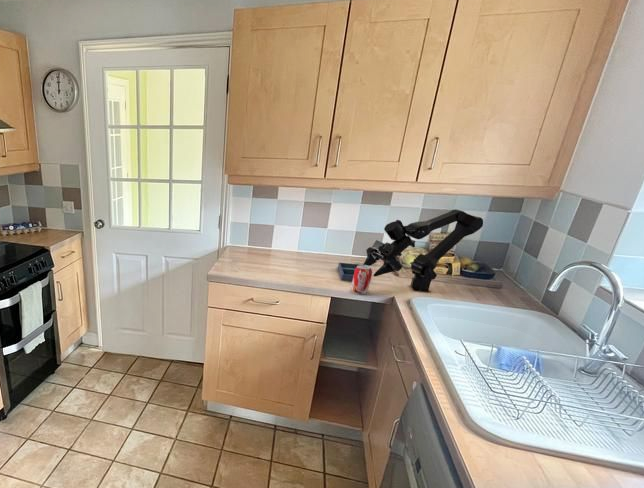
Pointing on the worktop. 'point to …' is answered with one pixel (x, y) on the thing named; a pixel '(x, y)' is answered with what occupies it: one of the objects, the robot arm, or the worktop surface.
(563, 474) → the worktop surface
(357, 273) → the soda can
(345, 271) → the can rack
